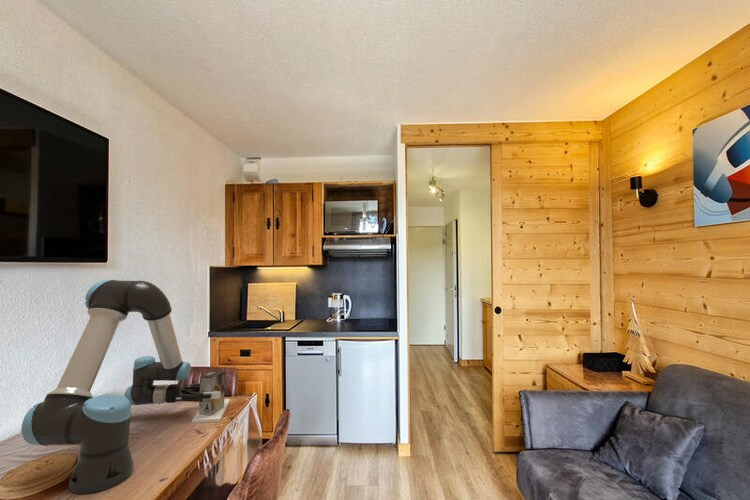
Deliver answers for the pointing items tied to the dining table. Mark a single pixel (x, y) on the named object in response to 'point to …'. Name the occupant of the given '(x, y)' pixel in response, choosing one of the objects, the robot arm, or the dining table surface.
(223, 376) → the coffee box
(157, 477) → the dining table surface
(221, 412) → the marked board
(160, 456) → the dining table surface
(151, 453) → the dining table surface
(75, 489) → the robot arm
